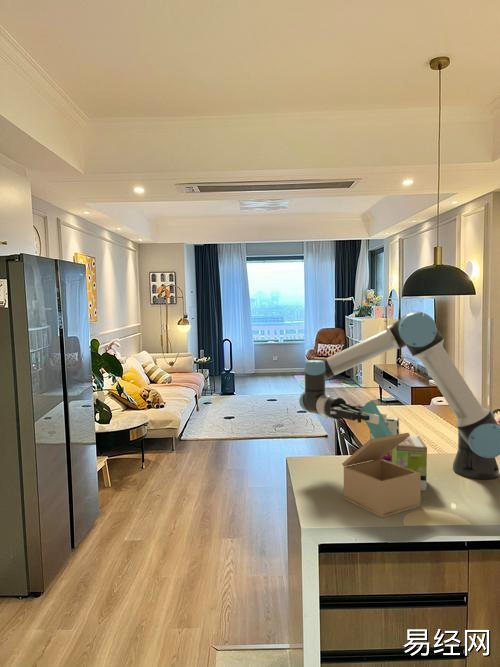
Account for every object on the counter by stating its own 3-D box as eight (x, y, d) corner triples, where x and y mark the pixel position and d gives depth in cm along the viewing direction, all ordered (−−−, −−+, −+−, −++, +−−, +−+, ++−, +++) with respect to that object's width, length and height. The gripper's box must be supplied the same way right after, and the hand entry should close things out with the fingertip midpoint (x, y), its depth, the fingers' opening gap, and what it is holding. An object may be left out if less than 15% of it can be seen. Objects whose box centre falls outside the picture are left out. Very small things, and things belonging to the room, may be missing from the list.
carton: (343, 498, 140) (343, 466, 140) (380, 488, 148) (380, 458, 148) (381, 517, 126) (381, 482, 126) (420, 506, 134) (420, 473, 134)
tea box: (427, 491, 145) (427, 446, 145) (395, 489, 147) (395, 445, 147) (419, 476, 160) (419, 435, 160) (390, 474, 162) (390, 433, 162)
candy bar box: (399, 457, 182) (399, 417, 182) (398, 461, 177) (398, 420, 177) (371, 454, 186) (371, 415, 186) (369, 458, 182) (369, 418, 181)
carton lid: (343, 466, 140) (326, 429, 147) (380, 458, 148) (362, 424, 155) (371, 442, 129) (351, 404, 136) (410, 435, 137) (389, 399, 144)
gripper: (348, 415, 161) (399, 428, 140) (314, 420, 153) (363, 434, 132) (348, 394, 160) (399, 404, 140) (314, 398, 153) (362, 409, 132)
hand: (381, 419), depth 136 cm, fingers closed on carton lid, 2 cm apart
